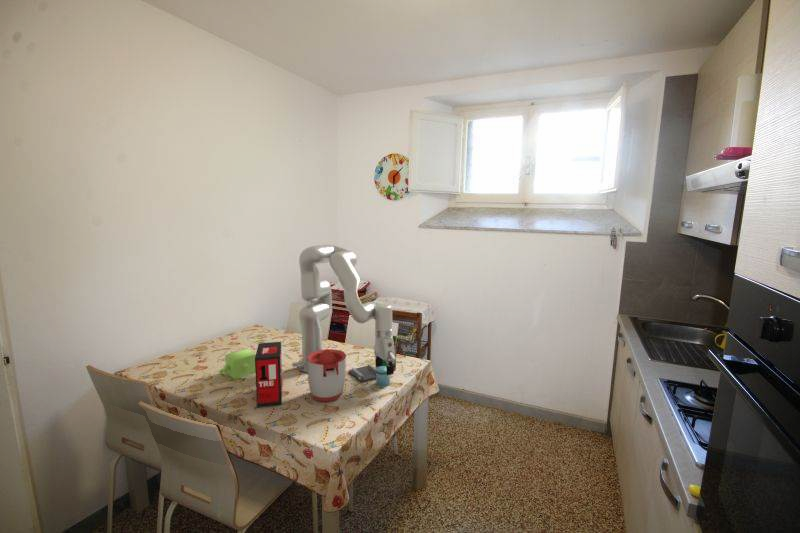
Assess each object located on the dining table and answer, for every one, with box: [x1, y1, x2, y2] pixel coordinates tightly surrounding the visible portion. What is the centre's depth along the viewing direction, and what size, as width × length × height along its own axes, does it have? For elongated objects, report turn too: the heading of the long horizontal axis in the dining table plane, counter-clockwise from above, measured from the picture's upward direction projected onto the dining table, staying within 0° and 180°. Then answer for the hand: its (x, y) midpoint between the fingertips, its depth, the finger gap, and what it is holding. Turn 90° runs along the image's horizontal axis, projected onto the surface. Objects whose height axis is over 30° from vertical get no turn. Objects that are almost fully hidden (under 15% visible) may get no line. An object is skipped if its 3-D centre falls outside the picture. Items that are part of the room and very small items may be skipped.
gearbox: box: [219, 348, 256, 380], centre depth 167 cm, size 18×10×10 cm, turn 137°
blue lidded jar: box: [375, 366, 391, 388], centre depth 160 cm, size 6×6×7 cm
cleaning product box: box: [254, 341, 283, 409], centre depth 146 cm, size 16×9×20 cm, turn 17°
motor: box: [382, 335, 398, 372], centre depth 173 cm, size 10×9×20 cm
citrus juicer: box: [307, 348, 347, 402], centre depth 147 cm, size 16×17×20 cm
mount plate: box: [348, 363, 377, 384], centre depth 168 cm, size 11×13×2 cm
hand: (384, 370), depth 159 cm, fingers open, 9 cm apart
